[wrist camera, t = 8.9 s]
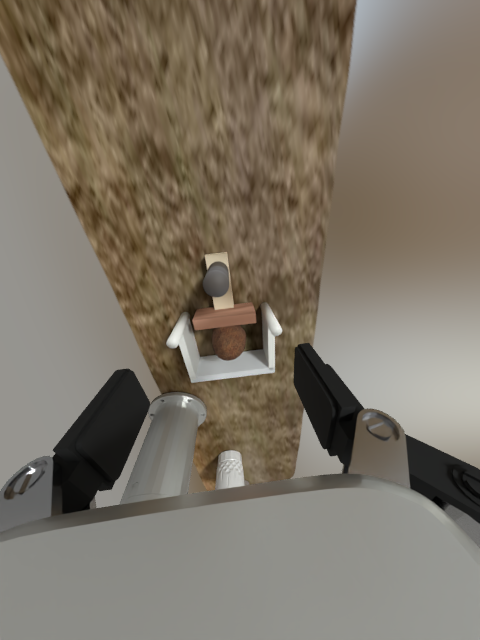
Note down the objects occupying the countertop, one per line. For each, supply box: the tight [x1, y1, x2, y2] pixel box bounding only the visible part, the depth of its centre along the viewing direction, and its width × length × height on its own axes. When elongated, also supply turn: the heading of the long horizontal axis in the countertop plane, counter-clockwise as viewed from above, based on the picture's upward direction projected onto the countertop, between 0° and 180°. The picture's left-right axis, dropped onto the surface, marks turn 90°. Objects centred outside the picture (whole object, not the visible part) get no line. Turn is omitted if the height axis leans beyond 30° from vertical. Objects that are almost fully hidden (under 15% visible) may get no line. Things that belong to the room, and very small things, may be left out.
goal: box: [166, 302, 282, 383], centre depth 27 cm, size 11×15×8 cm
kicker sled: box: [192, 252, 256, 330], centre depth 23 cm, size 10×9×8 cm
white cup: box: [215, 450, 245, 490], centre depth 46 cm, size 8×8×10 cm
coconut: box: [212, 325, 246, 361], centre depth 27 cm, size 5×5×8 cm
